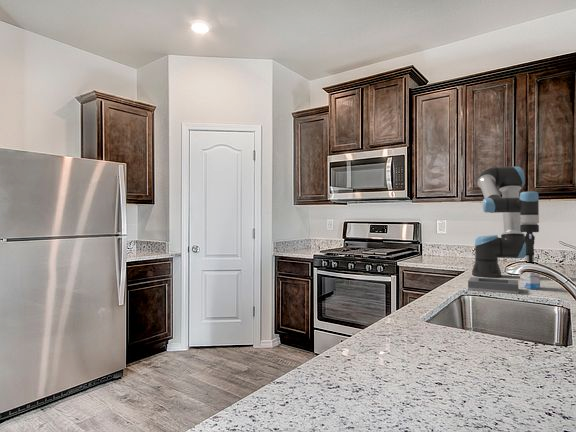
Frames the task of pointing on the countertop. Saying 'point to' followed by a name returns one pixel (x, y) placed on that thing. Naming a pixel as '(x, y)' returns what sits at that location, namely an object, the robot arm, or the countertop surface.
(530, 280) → the ink box
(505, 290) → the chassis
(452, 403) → the countertop surface
